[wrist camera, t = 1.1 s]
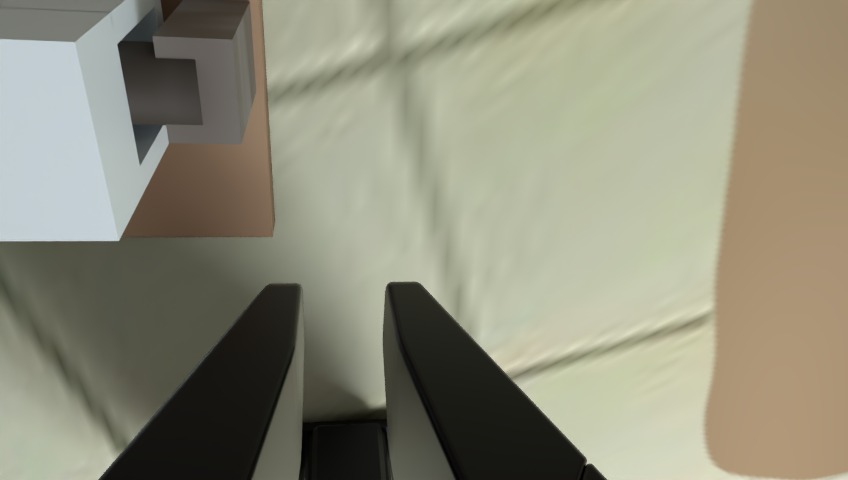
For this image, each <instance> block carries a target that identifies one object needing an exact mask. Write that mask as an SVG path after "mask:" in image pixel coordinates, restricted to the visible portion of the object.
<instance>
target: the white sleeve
mask: <svg viewBox="0 0 848 480" xmlns="http://www.w3.org/2000/svg"><path fill="white" fill-rule="evenodd" d="M163 23H164V21H163V14H162V7H161V0H0V241H119V240H120V238H121V236H122V234H123V232H124V230H125V228H126V226H127V224H128V222H129V220H130V218H131V216H132V215H133V213H134V211H135V209H136V207H137V205H138V203H139V201H140V199H141V197H142V195H143V193H144V191H145V189H146V187H147V185H148V183H149V181H150V179H151V177H152V175H153V174H154V172H155V170H156V168H157V166H158V164H159V162H160V160H161V158H162V156H163V154H164V152H165V150H166V148H167V146H168V144H169V141H168V135H167V128H166V125H136V124H132V121H131V116H130V111H129V105H128V100H127V94H126V89H125V84H124V78H123V73H122V67H121V62H120V57H119V51H118V46H117V44H118V43H119V42H120V41H144V42H153V38H152V36H153V35H154V34H155V32H156V31H157V30H158V29H159V28H160V27H161V25H162V24H163Z"/></svg>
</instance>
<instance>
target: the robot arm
mask: <svg viewBox="0 0 848 480" xmlns="http://www.w3.org/2000/svg"><path fill="white" fill-rule="evenodd" d="M383 357H384V375H385V392H386V409H387V419H383V420H361V421H339V422H317V423H302V418H303V379H304V315H303V291H302V287H301V285H300V284H297V283H275V284H269V285H267V286H266V287H265V288H264V289H263V290H262V291H261V292H260V293H259V295H258V296H257V297H256V298H255V299H254V300H253V302H252V303H251V304H250V305H249V306H248V307H247V309H246V310H245V311H244V312H243V313H242V314H241V315H240V317H239V318H238V319H237V320H236V321H235V322H234V324H233V325H232V326H231V327H230V328H229V329H228V330H227V332H226V333H225V334H224V335H223V336H222V337H221V339H220V340H219V341H218V342H217V343H216V344H215V345H214V347H213V348H212V349H211V350H210V351H209V352H208V354H207V355H206V356H205V357H204V358H203V359H202V361H201V362H200V363H199V364H198V365H197V366H196V367H195V369H194V370H193V371H192V372H191V373H190V374H189V376H188V377H187V378H186V379H185V380H184V381H183V382H182V384H181V385H180V386H179V387H178V388H177V389H176V391H175V392H174V393H173V394H172V395H171V396H170V398H169V399H168V400H167V401H166V402H165V403H164V404H163V406H162V407H161V408H160V409H159V410H158V411H157V413H156V414H155V415H154V416H153V417H152V418H151V419H150V421H149V422H148V423H147V424H146V425H145V426H144V428H143V429H142V430H141V431H140V432H139V433H138V435H137V436H136V437H135V438H134V439H133V440H132V441H131V443H130V444H129V445H128V446H127V447H126V448H125V450H124V451H123V452H122V453H121V454H120V455H119V456H118V458H117V459H116V460H115V461H114V462H113V463H112V465H111V466H110V467H109V468H108V469H107V470H106V472H105V473H104V474H103V475H102V476H101V477H100V478H99V480H607V479H606V478H605V477H604V476H603V475H602V474H601V473H600V472H599V471H598V470H597V469H596V468H595V466H594V465H592V464H587V465H586V463H587V459H586V457H585V456H584V455H583V454H582V453H581V452H580V451H579V450H578V449H577V448H576V447H575V446H574V445H573V444H572V443H571V442H570V441H569V439H568V438H567V437H566V436H565V435H564V434H563V433H562V432H561V431H560V430H559V429H558V428H557V427H556V426H555V425H554V424H553V423H552V422H551V421H550V419H549V418H548V417H547V416H546V415H545V414H544V413H543V412H542V411H541V410H540V409H539V408H538V407H537V406H536V405H535V404H534V403H533V402H532V401H531V399H530V398H529V397H528V396H527V395H526V394H525V393H524V392H523V391H522V390H521V389H520V388H519V387H518V386H517V385H516V384H515V383H514V382H513V381H512V379H511V378H510V377H509V376H508V375H507V374H506V373H505V372H504V371H503V370H502V369H501V368H500V367H499V366H498V365H497V364H496V363H495V362H494V361H493V359H492V358H491V357H490V356H489V355H488V354H487V353H486V352H485V351H484V350H483V349H482V348H481V347H480V346H479V345H478V344H477V343H476V342H475V341H474V339H473V338H472V337H471V336H470V335H469V334H468V333H467V332H466V331H465V330H464V329H463V328H462V327H461V326H460V325H459V324H458V323H457V322H456V321H455V319H454V318H453V317H452V316H451V315H450V314H449V313H448V312H447V311H446V310H445V309H444V308H443V307H442V306H441V305H440V304H439V303H438V302H437V301H436V299H435V298H434V297H433V296H432V295H431V294H430V293H429V292H428V291H427V290H426V289H425V288H424V287H423V286H422V285H421V284H420V283H418V282H390V283H388V284H387V286H386V291H385V305H384V323H383Z"/></svg>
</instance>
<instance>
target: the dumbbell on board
mask: <svg viewBox="0 0 848 480" xmlns="http://www.w3.org/2000/svg"><path fill="white" fill-rule="evenodd" d="M161 7H162V14H163V21H164V23H163V24H162V25H161V27H160V28H159V29H158V30H157V31H156V32H155V34H154V35H153V36H152V38H153V42H144V41H120V42H119V43H118V44H117V46H118V51H119V57H120V62H121V67H122V73H123V78H124V84H125V89H126V94H127V100H128V105H129V111H130V116H131V121H132V124H136V125H166V128H167V135H168V141H169V144H168V146H167V148H166V150H165V152H164V154H163V156H162V158H161V160H160V162H159V164H158V166H157V168H156V170H155V172H154V174H153V175H152V177H151V179H150V181H149V183H148V185H147V187H146V189H145V191H144V193H143V195H142V197H141V199H140V201H139V203H138V205H137V207H136V209H135V211H134V213H133V215H132V216H131V218H130V220H129V222H128V224H127V226H126V228H125V230H124V232H123V234H122V236H121V237H273V230H274V223H275V214H274V197H273V181H272V164H271V147H270V130H269V113H268V96H267V79H266V62H265V45H264V29H263V12H262V0H161Z"/></svg>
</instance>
